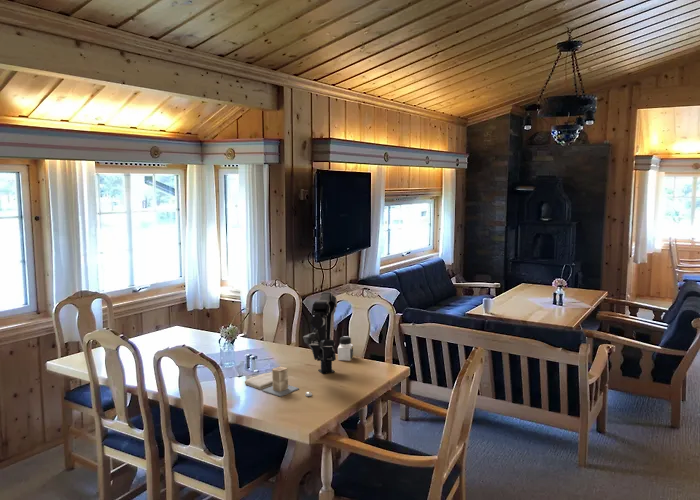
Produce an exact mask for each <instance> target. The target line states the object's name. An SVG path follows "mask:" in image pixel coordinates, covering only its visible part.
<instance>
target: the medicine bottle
mask: <svg viewBox="0 0 700 500" xmlns="http://www.w3.org/2000/svg"><path fill="white" fill-rule="evenodd" d="M352 359H354V344H352V338H351V337H350V336H348V335H347V336H345V335H344V336H341V337H339V345H338V347H337V360H338V361H347V362H350V361H352Z"/></svg>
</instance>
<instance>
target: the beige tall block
mask: <svg viewBox="0 0 700 500" xmlns="http://www.w3.org/2000/svg"><path fill="white" fill-rule="evenodd" d="M271 372H272V378H273V390H276V391H280V392H281V391H284V390H286V389H288V385H289V378H288V377H289V373H288V367H284V366H278V367H277V366H276V367H274V368H272V370H271Z"/></svg>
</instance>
